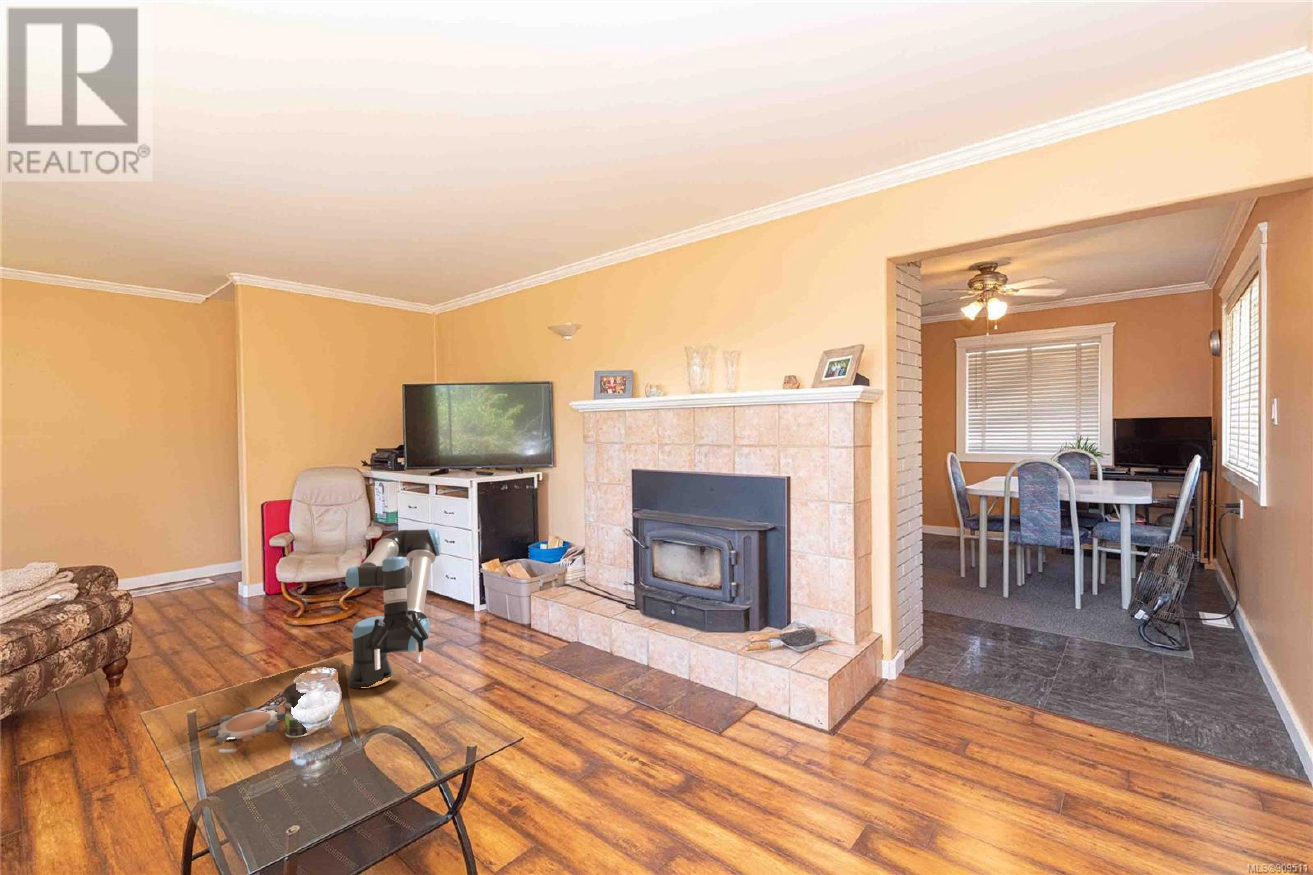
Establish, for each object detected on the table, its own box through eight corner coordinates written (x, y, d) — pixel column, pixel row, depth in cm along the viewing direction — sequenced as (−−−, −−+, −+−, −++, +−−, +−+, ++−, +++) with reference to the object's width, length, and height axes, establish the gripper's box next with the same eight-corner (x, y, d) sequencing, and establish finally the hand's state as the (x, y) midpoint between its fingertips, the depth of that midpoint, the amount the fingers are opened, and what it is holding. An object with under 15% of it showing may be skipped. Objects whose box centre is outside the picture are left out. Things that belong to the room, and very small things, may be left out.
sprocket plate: (212, 721, 196) (212, 715, 196) (285, 704, 207) (284, 699, 207) (206, 751, 179) (206, 744, 179) (286, 731, 190) (286, 725, 190)
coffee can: (288, 742, 184) (287, 697, 183) (282, 728, 192) (281, 686, 191) (325, 730, 191) (324, 687, 190) (318, 718, 199) (317, 676, 198)
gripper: (353, 608, 202) (355, 673, 197) (429, 596, 205) (432, 661, 200) (362, 607, 210) (364, 670, 204) (435, 596, 212) (439, 658, 207)
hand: (398, 666), depth 202 cm, fingers open, 13 cm apart
